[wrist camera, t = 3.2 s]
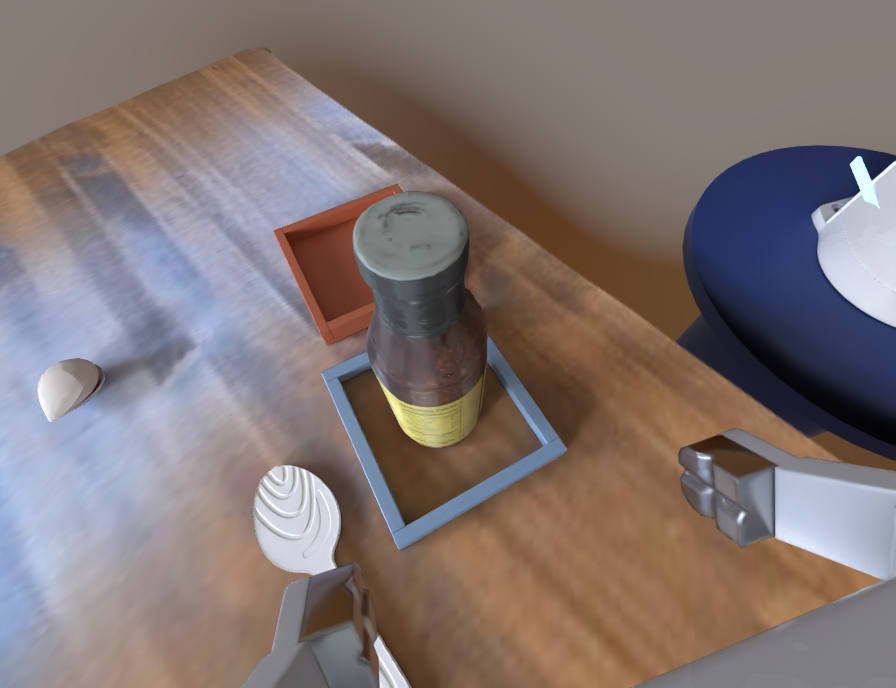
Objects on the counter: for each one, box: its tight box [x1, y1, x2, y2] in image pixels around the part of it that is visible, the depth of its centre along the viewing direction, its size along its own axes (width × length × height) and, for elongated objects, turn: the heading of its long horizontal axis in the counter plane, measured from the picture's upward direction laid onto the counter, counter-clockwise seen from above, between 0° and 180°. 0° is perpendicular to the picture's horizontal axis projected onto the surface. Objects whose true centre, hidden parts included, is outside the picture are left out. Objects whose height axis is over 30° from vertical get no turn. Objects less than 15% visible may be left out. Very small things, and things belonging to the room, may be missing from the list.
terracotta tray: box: [273, 184, 402, 346], centre depth 38 cm, size 13×13×2 cm
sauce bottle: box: [352, 191, 488, 448], centre depth 23 cm, size 6×6×20 cm
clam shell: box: [38, 358, 105, 422], centre depth 32 cm, size 4×5×2 cm
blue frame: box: [322, 334, 567, 550], centre depth 31 cm, size 13×14×1 cm
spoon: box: [252, 465, 412, 688], centre depth 26 cm, size 5×18×1 cm, turn 37°
